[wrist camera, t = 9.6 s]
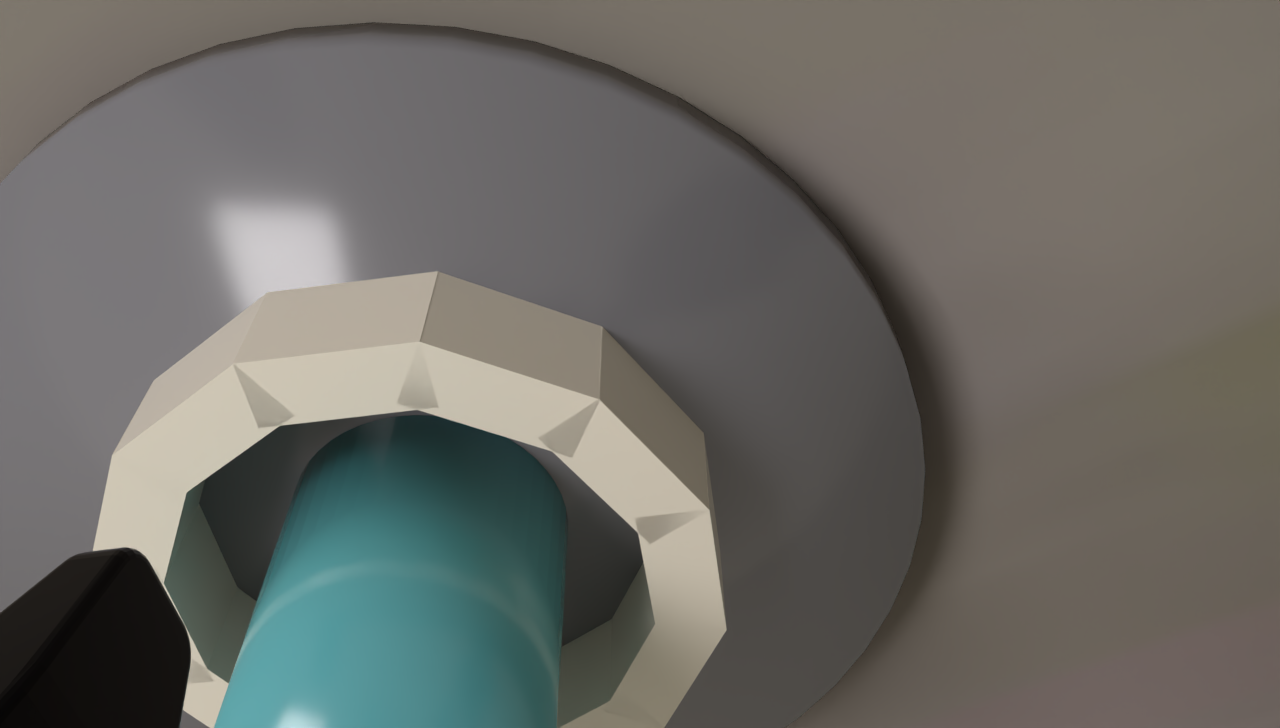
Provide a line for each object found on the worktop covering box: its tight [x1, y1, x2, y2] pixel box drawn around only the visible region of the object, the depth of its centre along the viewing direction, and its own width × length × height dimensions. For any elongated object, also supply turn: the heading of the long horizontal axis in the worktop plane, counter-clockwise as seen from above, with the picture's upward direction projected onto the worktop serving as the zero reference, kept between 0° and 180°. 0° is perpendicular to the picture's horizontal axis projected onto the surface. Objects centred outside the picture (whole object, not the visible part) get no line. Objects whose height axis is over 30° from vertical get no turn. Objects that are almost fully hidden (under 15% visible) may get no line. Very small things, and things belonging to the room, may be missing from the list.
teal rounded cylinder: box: [214, 415, 568, 728], centre depth 19 cm, size 5×5×7 cm
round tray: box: [0, 23, 925, 728], centre depth 22 cm, size 18×18×3 cm
